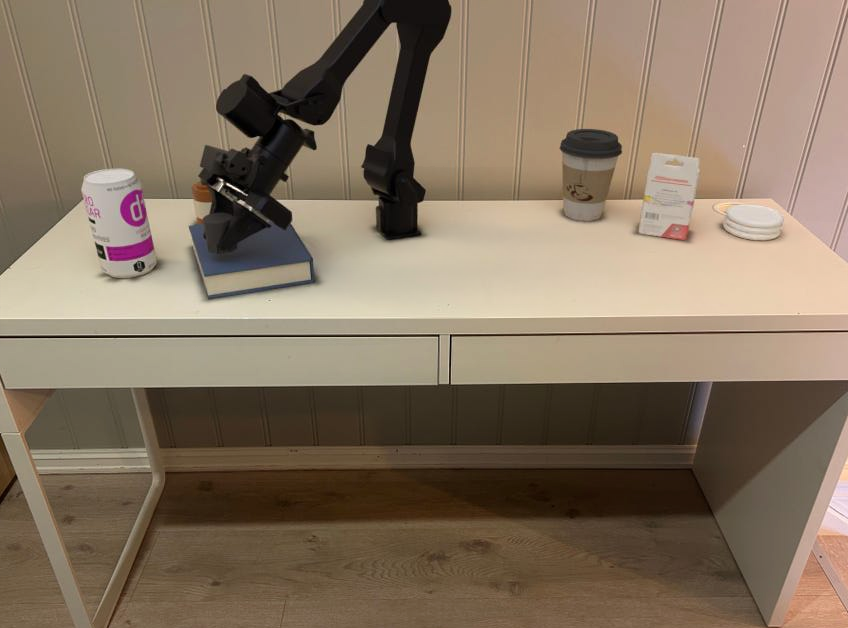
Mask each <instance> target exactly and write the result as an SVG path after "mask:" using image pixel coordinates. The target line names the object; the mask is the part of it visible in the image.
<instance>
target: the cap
mask: <svg viewBox="0 0 848 628" xmlns="http://www.w3.org/2000/svg"><path fill="white" fill-rule="evenodd" d="M232 217H233V216H232V215H231V214H228V213H212V214H209V215H206V216H205V217H203V223H204V229H205V235H206V243H207V248H208V251H209V252H210V253H215V254H224V253H230V252H232V251H234V250H236V249H237V248H238V247H237V244H235V245H234V246H232V247H230V248H228V249H227V250H225V251H222V250H221V249H219V248H218V245H219V242H220V240H221V238H222V236H223V234H224V232H225V230H226V229H227V227H228V225H229V223H230V221H231V219H232Z"/></svg>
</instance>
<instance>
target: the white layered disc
mask: <svg viewBox="0 0 848 628" xmlns="http://www.w3.org/2000/svg"><path fill="white" fill-rule="evenodd" d="M783 223H785V217H784V215H783V214H782V213H781V212H779V211H778V210H776V209H774V208H771V207H768V206H764V205H758V204H751V203H749V204H748V203H742V204H740V203H739V204H735V205H731V206H730V207H728V208H726V211H725V216H724V220H723V225H722V226H723V228H724V230H725V231H726V232H728V233H729V234H731V235H732V236H735V237H738V238H741V239H745V240H750V241H771V240H774V239H776V238H778V237H780V235H781V233H782V229H783Z"/></svg>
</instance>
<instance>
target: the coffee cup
mask: <svg viewBox="0 0 848 628" xmlns="http://www.w3.org/2000/svg"><path fill="white" fill-rule="evenodd" d="M565 135H566V136H565V138H563V139H562V140H561V142H560V146H559V150H560V151H561V161H562V163H561V165H562V166H561V167H562V209H563V214H564V215H565V217H567V218H568V219H571V220H574V221H580V222H591V221H596V220H599V219H600V218H601V217H602V214H603V213H604V209H605V207H606V203H607V199H608V195H609V191H610V188H611V185H612V181H613V178H614V173H615V169H616V166H617V162H618V158H619V156H621V155H622V154H623V145H622V144H621V143H620V142H619V136H618V135H617V134H615V133H614V132H611V131H608V130H605V129H604V130H603V129H598V128H597V129H596V128H577V129H572V130H570V131H567V133H566V134H565Z"/></svg>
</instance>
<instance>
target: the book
mask: <svg viewBox="0 0 848 628" xmlns="http://www.w3.org/2000/svg"><path fill="white" fill-rule="evenodd" d="M268 223H269V224H270V225H271V227H270V228H268V227H267V228H265V229H263V230H261V231H259V232H257V233H255V234H253V235H251V236H249V237H247V238H246V239H244V240H242V241H240V242H239V243H237V247H238V248H237V249H236V250H234V251H232V252H230V253H224V254H215V253H210V252H209V251H208V248H207V243H206V239H204V238H203V235H204V231H205V229H204V224H199V225H198V224H192V225H188V229H189V233H190V237H191V243H192V245H191V248H192V251H193V254H194V258H195V261H196V264H197V267H198V270H199V274H200V278H201V280H202V284H203V286H204V289H205V290H204V291H205V293H206V297H207V299H208V300H212V299H217V298H223V297H224V298H226V297H230V296H236V295H243V294H244V295H245V294H249V293H257V292H262V291H268V290H275V289H282V288H287V287H294V286H300V285H307V284H313V283H316V278H315V267H314V265H315V264H314V258H313V256H312V255H311V253H310V251H309V250H308V249H307V247H306V245H305V244H304V242H303V240H302V239H301V237H300V235H299V234H298V232H297V231H296V229H295V228H294V225H292V223H291V224H290V225H289V227H288V228H287V230H286V231H285V230H283V229H282V228H280V227H278V226H276V225H275V224H274V222H272V221H271V220H270V221H269V222H268Z"/></svg>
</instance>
